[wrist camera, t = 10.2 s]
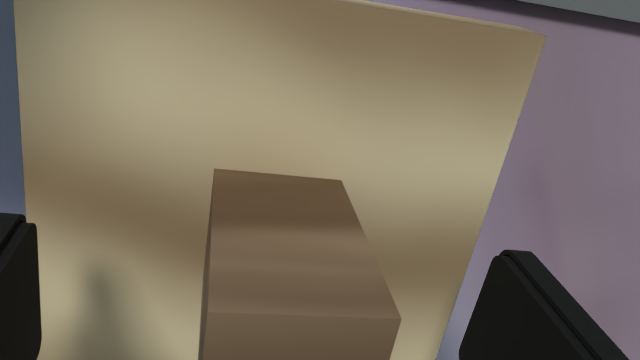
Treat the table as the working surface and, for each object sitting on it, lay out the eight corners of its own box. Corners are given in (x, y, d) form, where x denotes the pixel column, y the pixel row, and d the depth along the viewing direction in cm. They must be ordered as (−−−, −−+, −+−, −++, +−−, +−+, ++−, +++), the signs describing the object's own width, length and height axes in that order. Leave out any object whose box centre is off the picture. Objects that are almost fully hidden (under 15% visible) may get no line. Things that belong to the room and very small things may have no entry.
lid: (31, -56, 11) (-168, -24, 5) (520, 26, 13) (731, 107, 8) (49, 360, 15) (-49, 608, 10) (411, 366, 18) (495, 569, 12)
